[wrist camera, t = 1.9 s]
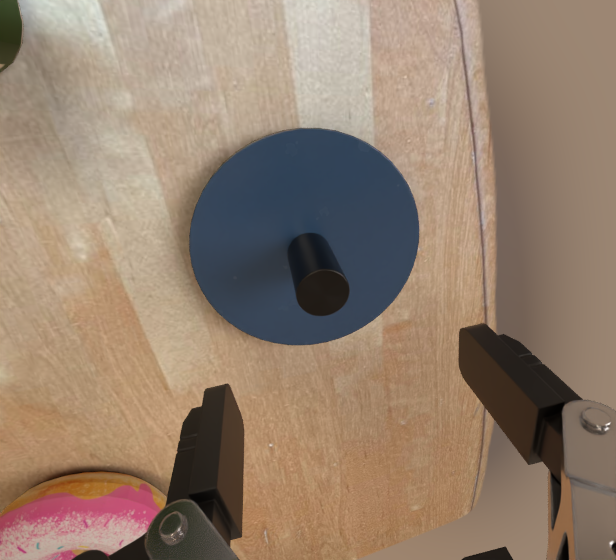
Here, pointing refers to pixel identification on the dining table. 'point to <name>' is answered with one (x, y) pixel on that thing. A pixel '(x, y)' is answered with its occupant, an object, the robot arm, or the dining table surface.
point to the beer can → (10, 31)
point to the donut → (78, 516)
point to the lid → (304, 236)
